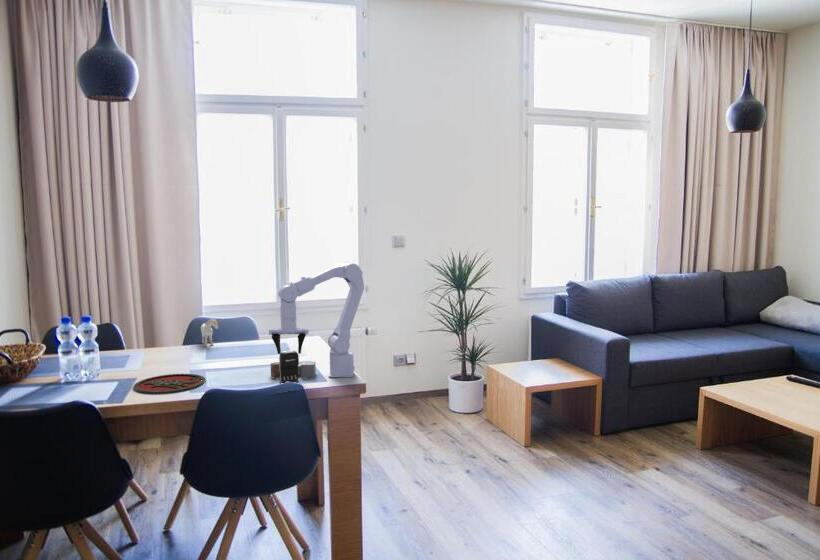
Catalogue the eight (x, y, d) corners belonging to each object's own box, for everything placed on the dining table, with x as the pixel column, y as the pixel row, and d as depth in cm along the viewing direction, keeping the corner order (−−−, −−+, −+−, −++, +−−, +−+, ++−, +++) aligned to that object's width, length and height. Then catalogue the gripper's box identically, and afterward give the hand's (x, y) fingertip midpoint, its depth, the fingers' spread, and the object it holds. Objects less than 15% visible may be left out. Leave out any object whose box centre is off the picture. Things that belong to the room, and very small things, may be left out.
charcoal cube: (315, 374, 243) (315, 361, 243) (314, 377, 238) (313, 364, 238) (302, 374, 243) (302, 361, 243) (301, 377, 238) (300, 364, 238)
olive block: (302, 373, 244) (302, 363, 244) (300, 376, 241) (300, 366, 240) (287, 373, 244) (286, 363, 244) (285, 376, 240) (284, 366, 240)
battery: (281, 383, 229) (281, 353, 228) (279, 381, 233) (278, 351, 232) (300, 381, 232) (299, 351, 231) (297, 379, 236) (296, 349, 235)
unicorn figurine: (212, 349, 289) (211, 321, 288) (192, 343, 303) (191, 316, 301) (226, 346, 294) (225, 319, 293) (206, 341, 308) (205, 314, 306)
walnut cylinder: (284, 374, 243) (284, 361, 242) (282, 377, 238) (282, 365, 237) (272, 374, 243) (271, 362, 242) (269, 378, 238) (269, 365, 237)
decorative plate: (186, 392, 216) (119, 391, 219) (186, 396, 216) (119, 394, 219) (216, 374, 241) (155, 373, 243) (216, 377, 241) (155, 375, 244)
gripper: (309, 315, 236) (310, 350, 237) (271, 316, 235) (272, 351, 237) (306, 318, 228) (307, 354, 230) (267, 319, 228) (268, 355, 230)
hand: (289, 353), depth 233 cm, fingers open, 7 cm apart
